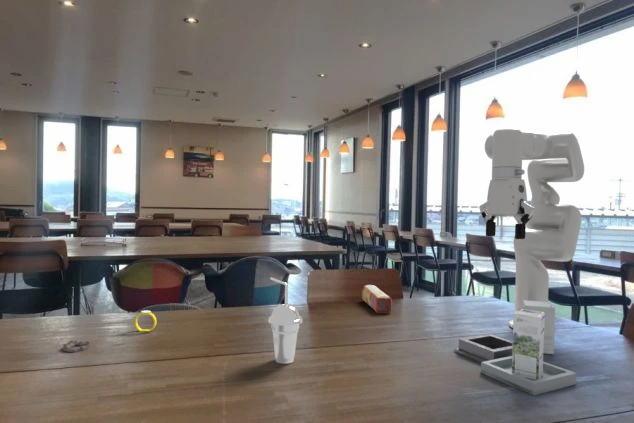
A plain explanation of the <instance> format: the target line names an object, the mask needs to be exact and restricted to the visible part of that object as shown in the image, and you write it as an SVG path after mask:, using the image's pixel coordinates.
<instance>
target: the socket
mask: <svg viewBox="0 0 634 423" xmlns="http://www.w3.org/2000/svg"><path fill="white" fill-rule="evenodd" d="M453 352H454V353H456V354H458V355H461V356H463V357H466V358H469V359H471V360H474V361H477V362H479V363H481V362H484V361H489V360H494V359H499V358H504V357H509V356H512V353H513V340H509V339H506V338H503V337H500V336H497V335H494V334H491V333H488V334H487V333H486V334H482V335H475V336H469V337H462V338H458V347H456V348H454V351H453Z"/></svg>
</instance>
